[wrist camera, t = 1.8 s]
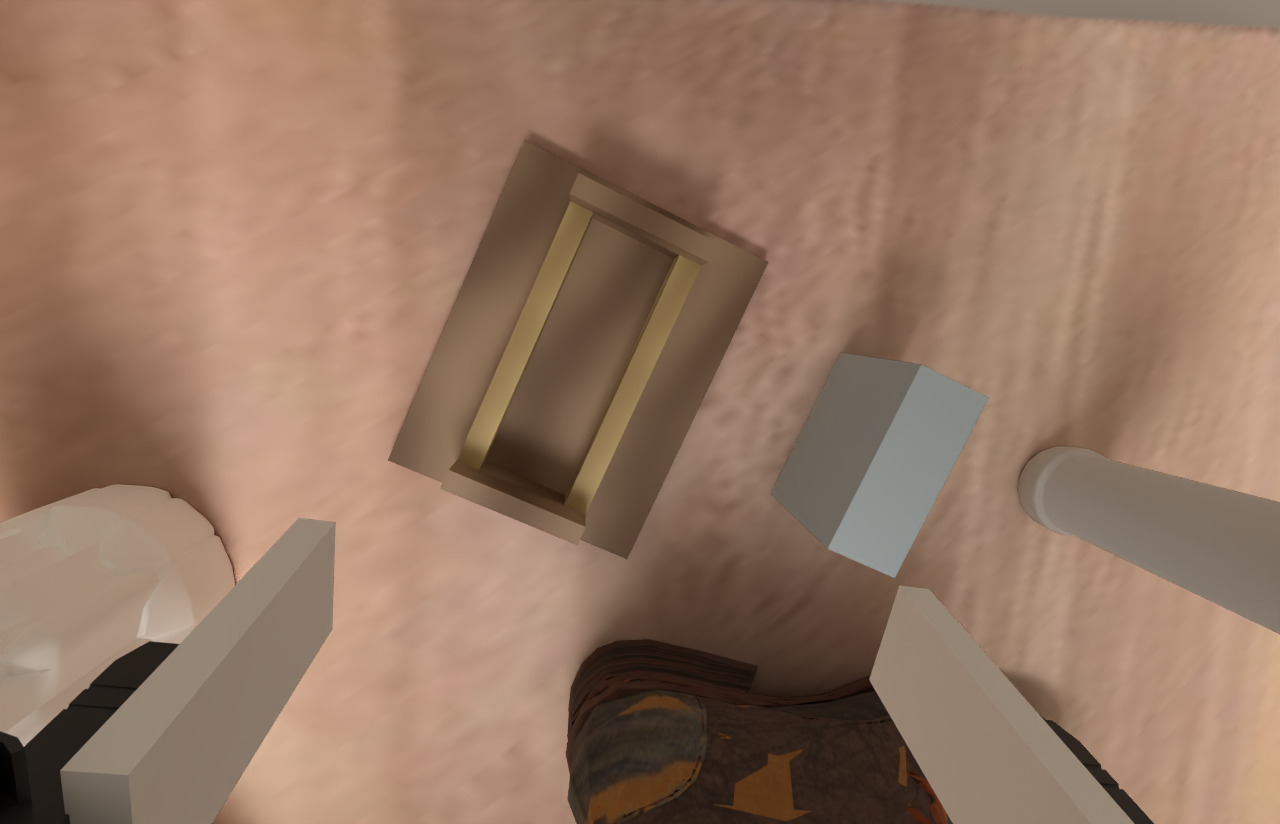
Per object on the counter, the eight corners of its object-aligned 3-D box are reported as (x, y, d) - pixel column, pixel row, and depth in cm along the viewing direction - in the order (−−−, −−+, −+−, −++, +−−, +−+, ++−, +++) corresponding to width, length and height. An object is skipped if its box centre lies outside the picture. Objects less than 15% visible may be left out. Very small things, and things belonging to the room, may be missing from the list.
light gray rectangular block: (892, 378, 37) (989, 397, 28) (822, 517, 38) (894, 578, 29) (840, 352, 37) (921, 364, 28) (770, 493, 38) (827, 548, 29)
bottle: (1055, 542, 40) (1832, 917, 15) (996, 493, 39) (1715, 803, 14) (1112, 476, 39) (2001, 748, 15) (1053, 425, 38) (1891, 622, 14)
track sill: (763, 263, 36) (792, 255, 31) (625, 552, 37) (632, 588, 32) (526, 145, 34) (516, 116, 29) (393, 456, 35) (362, 479, 30)
